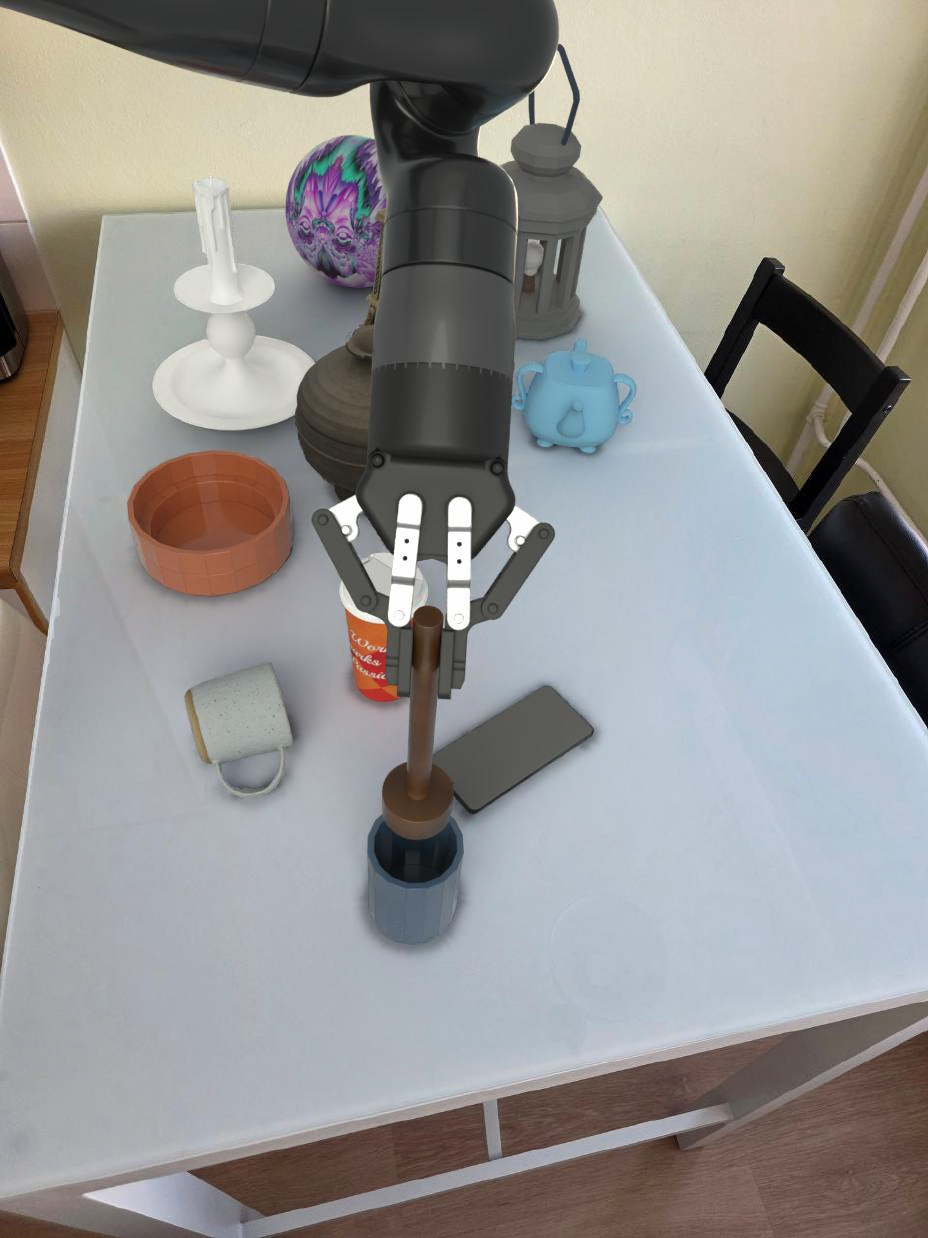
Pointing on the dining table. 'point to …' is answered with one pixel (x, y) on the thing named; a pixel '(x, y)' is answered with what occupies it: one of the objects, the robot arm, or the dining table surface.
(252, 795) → the ceramic mug
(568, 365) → the blue sugar bowl
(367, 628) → the paper cup
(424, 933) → the crock
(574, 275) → the lantern
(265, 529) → the mixing bowl
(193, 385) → the candlestick
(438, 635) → the brown wooden plunger
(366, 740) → the dining table surface
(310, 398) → the pot
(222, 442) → the dining table surface
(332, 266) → the decorative sphere
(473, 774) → the smartphone
